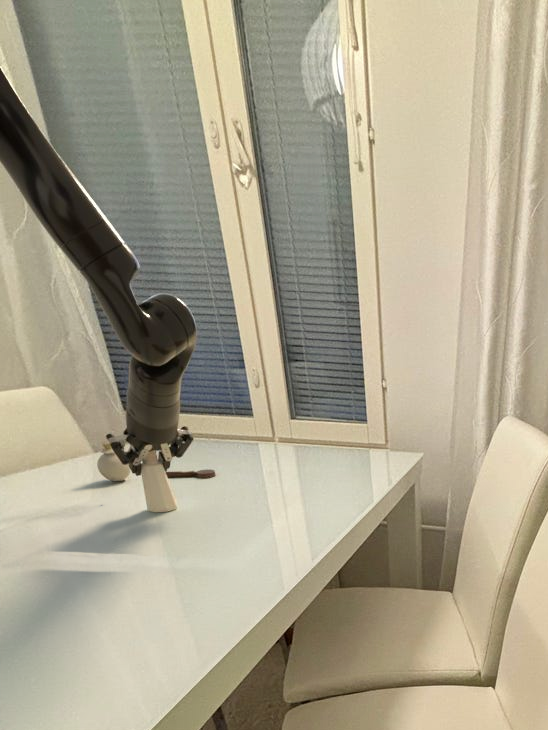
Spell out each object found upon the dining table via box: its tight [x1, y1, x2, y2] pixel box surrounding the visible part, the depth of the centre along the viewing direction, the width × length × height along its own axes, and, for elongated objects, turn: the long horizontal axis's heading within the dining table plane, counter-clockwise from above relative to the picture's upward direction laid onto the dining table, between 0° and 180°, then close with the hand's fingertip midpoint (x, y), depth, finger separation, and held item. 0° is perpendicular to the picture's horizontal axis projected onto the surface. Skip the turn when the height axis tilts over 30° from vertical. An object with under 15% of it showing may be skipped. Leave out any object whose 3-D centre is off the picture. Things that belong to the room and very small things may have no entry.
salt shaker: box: [140, 451, 179, 513], centre depth 103 cm, size 5×5×11 cm
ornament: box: [96, 432, 131, 482], centre depth 120 cm, size 6×7×10 cm
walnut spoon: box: [166, 469, 217, 479], centre depth 126 cm, size 14×4×1 cm, turn 104°
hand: (149, 469), depth 103 cm, fingers closed on salt shaker, 4 cm apart
